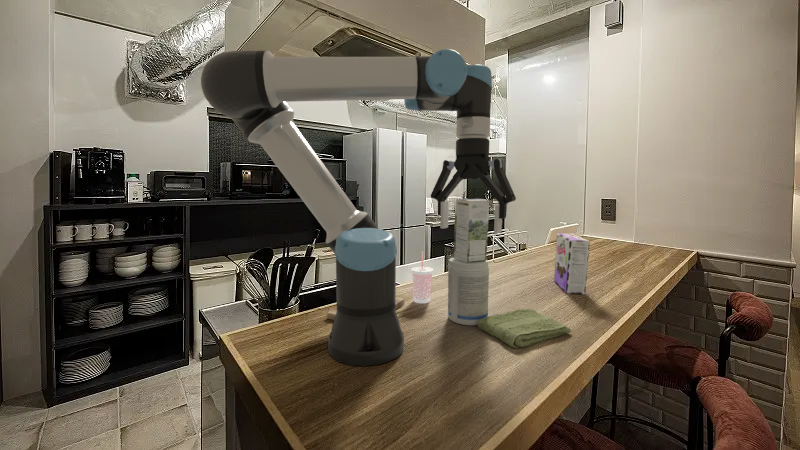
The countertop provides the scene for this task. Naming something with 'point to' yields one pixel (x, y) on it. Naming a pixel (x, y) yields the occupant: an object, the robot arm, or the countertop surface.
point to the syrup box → (471, 230)
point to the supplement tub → (467, 291)
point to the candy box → (571, 263)
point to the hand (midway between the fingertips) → (469, 230)
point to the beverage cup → (422, 283)
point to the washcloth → (522, 327)
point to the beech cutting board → (332, 313)
